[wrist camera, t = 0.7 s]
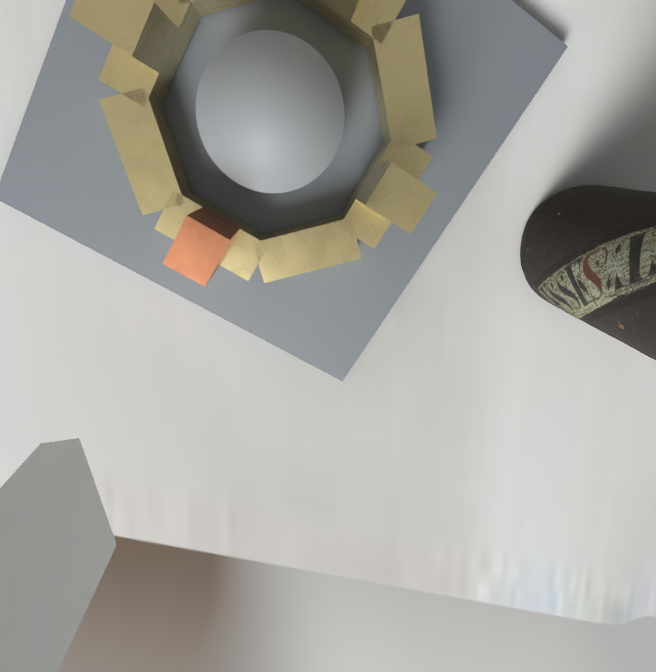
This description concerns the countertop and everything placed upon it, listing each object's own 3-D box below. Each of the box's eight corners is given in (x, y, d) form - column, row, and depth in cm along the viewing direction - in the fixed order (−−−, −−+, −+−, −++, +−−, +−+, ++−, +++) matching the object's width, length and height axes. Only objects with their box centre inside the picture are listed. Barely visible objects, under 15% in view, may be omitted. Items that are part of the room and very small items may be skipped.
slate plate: (175, -266, 22) (132, -413, 16) (558, 50, 27) (626, 22, 22) (4, 196, 28) (-68, 205, 23) (341, 374, 34) (349, 417, 28)
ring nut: (207, -139, 22) (170, -260, 16) (478, 69, 26) (537, 40, 20) (77, 175, 27) (8, 180, 20) (324, 313, 31) (332, 355, 24)
